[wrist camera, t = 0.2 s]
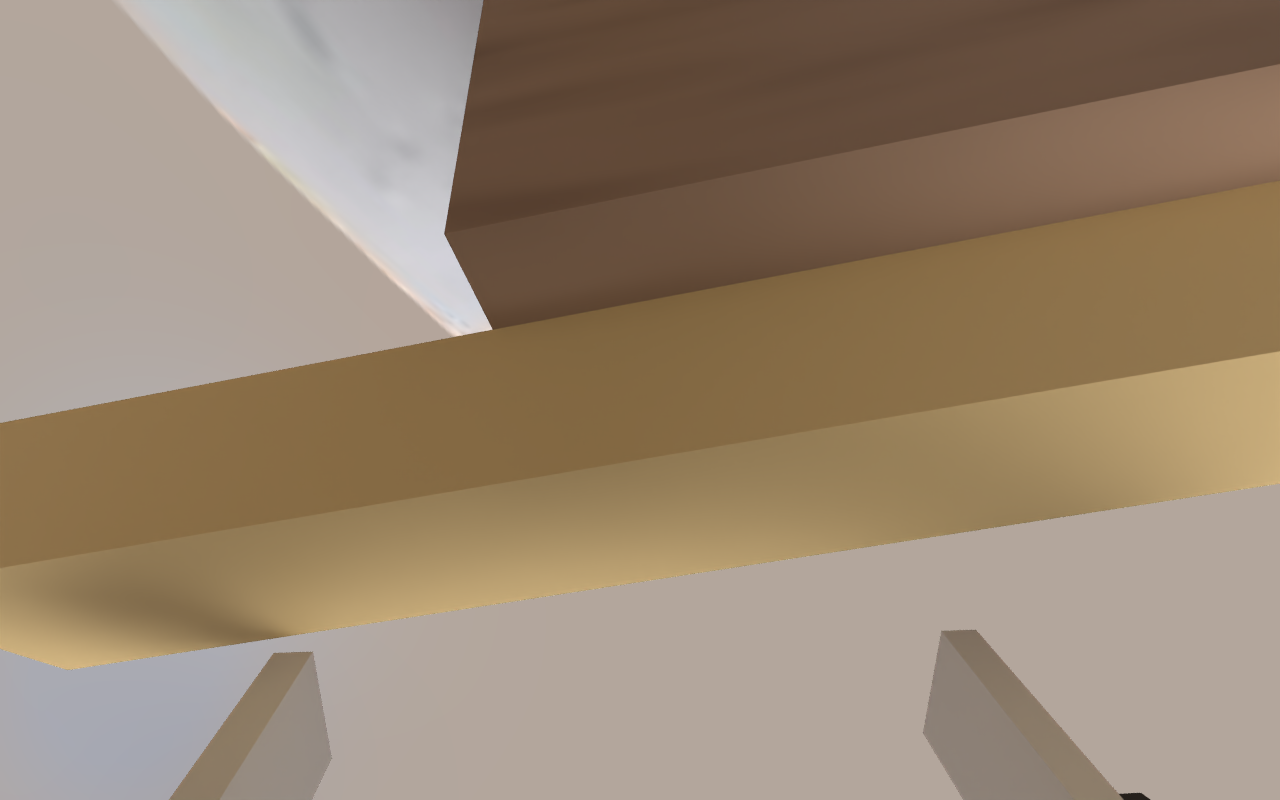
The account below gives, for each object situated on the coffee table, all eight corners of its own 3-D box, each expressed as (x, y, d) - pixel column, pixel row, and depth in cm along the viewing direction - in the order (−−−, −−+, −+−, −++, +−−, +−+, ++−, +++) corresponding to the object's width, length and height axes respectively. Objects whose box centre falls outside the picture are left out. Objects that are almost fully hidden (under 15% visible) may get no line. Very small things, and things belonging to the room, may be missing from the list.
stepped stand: (517, -201, 29) (444, 233, 9) (920, -305, 27) (1897, -62, 8) (596, 128, 41) (638, 616, 21) (876, 69, 40) (1200, 532, 20)
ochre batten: (-50, 432, 11) (-168, 596, 9) (1710, 98, 9) (2011, 226, 7) (130, 531, 14) (67, 670, 13) (1472, 302, 12) (1639, 428, 10)
